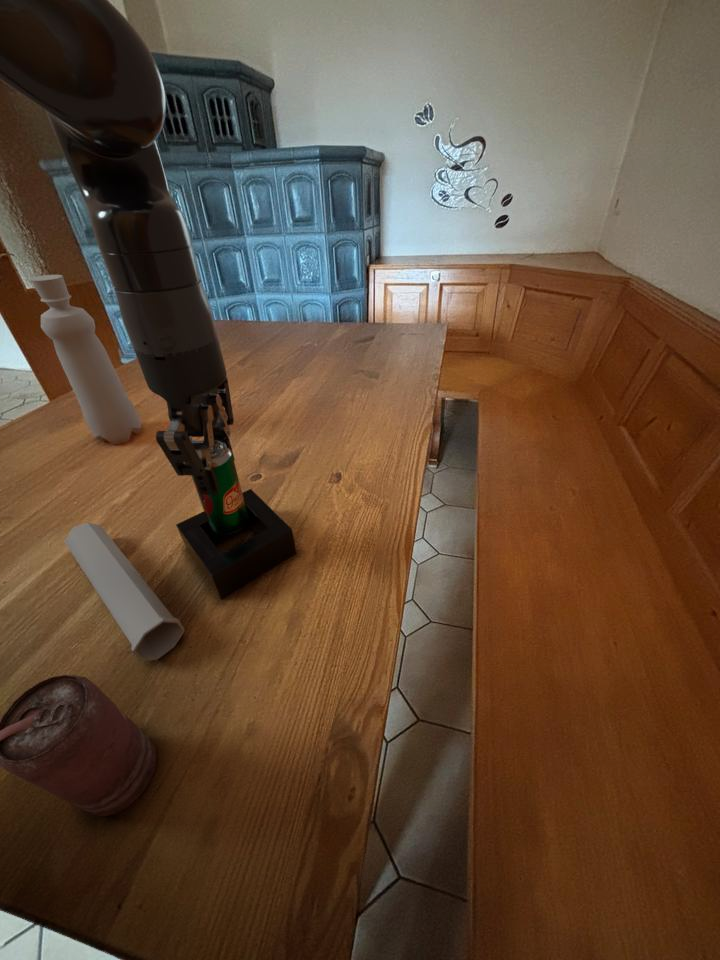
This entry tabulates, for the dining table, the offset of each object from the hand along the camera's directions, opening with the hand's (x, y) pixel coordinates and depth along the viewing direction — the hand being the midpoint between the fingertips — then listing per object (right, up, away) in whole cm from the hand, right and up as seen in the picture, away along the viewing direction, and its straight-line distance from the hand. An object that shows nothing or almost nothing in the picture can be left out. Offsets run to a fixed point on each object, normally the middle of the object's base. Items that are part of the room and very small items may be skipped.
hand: (218, 477), depth 46 cm
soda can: (0, -6, +5) cm, 8 cm away
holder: (0, -11, +9) cm, 14 cm away
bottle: (-33, +9, +34) cm, 49 cm away
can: (-5, -28, -11) cm, 30 cm away
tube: (-14, -15, +4) cm, 21 cm away
